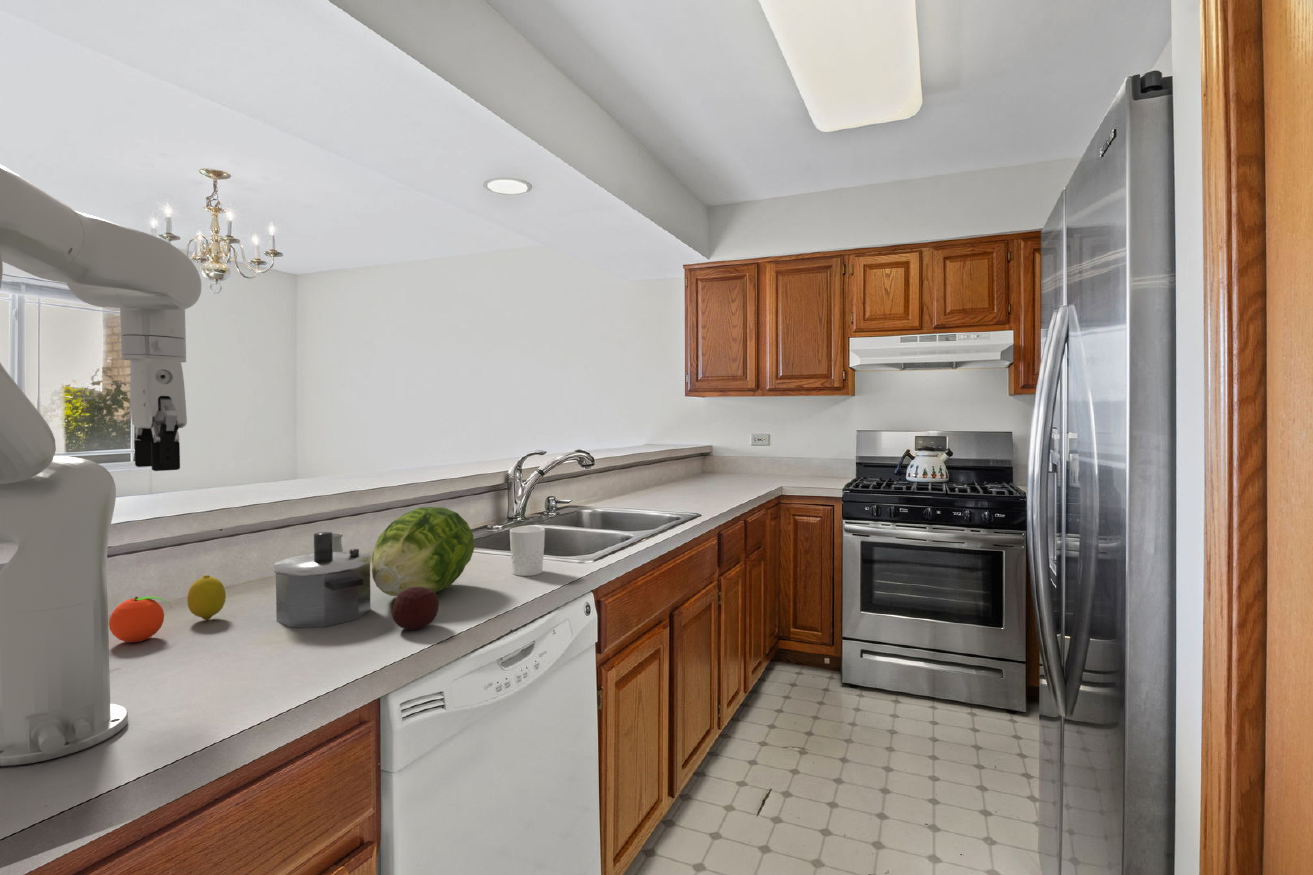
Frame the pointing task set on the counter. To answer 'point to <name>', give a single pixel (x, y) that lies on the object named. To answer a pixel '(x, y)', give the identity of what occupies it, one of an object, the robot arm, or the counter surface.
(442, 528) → the lettuce
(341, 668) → the counter surface
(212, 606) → the lemon
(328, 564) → the lid
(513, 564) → the white cup
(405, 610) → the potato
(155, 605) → the clementine
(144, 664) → the counter surface
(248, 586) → the counter surface
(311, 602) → the pot
